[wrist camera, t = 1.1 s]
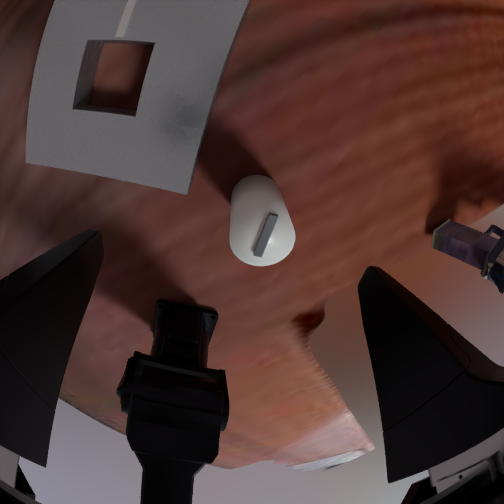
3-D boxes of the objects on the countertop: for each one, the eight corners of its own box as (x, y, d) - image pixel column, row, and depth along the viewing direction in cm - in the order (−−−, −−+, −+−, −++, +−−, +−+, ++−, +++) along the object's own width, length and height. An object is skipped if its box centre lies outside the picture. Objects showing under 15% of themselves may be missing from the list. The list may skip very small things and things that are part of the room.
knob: (271, 224, 22) (281, 274, 17) (225, 213, 21) (222, 261, 16) (288, 183, 20) (306, 223, 15) (239, 168, 19) (240, 205, 14)
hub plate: (192, 181, 20) (186, 195, 17) (42, 153, 17) (24, 163, 14) (249, 5, 12) (251, -7, 10) (75, -4, 9) (57, -10, 7)
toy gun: (494, 194, 27) (544, 222, 19) (428, 251, 23) (503, 304, 15) (496, 179, 26) (548, 207, 18) (431, 230, 22) (513, 284, 14)
